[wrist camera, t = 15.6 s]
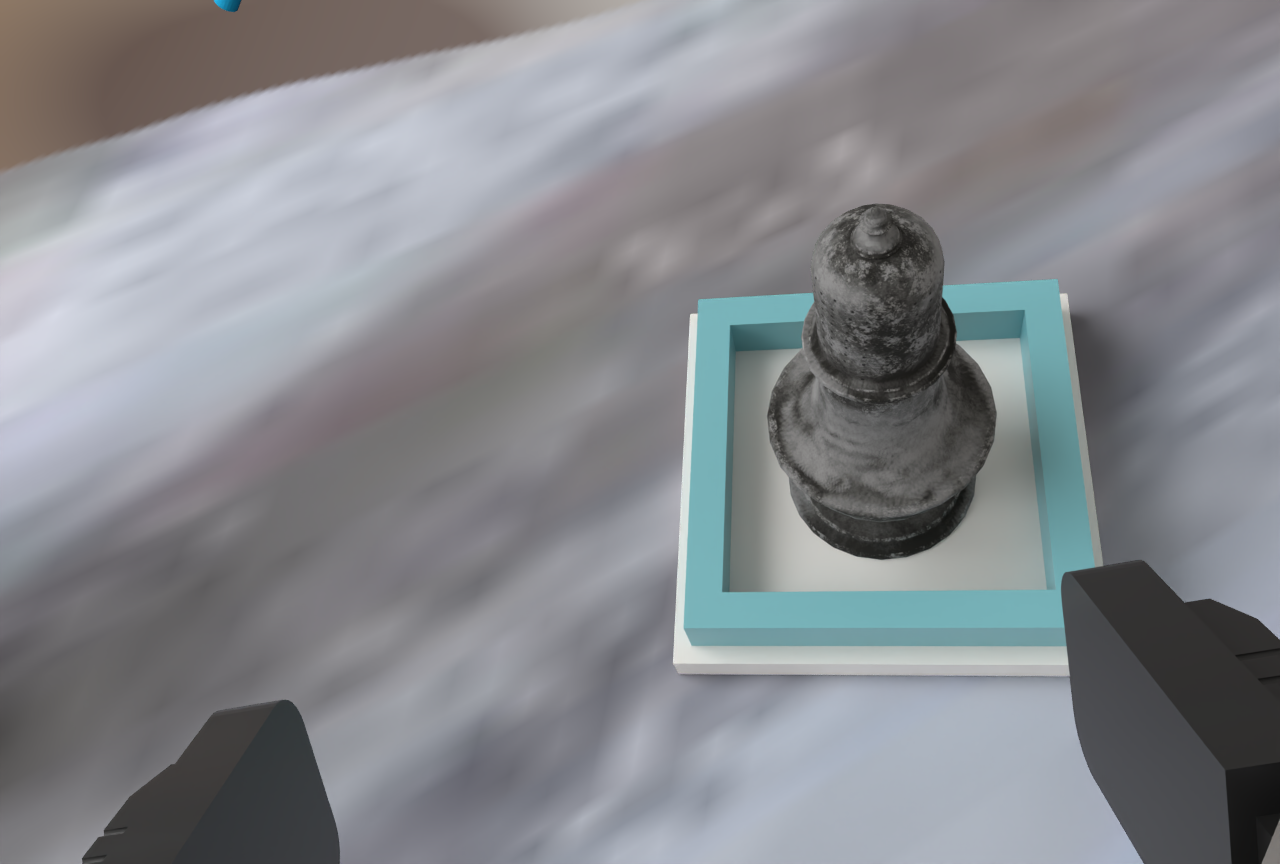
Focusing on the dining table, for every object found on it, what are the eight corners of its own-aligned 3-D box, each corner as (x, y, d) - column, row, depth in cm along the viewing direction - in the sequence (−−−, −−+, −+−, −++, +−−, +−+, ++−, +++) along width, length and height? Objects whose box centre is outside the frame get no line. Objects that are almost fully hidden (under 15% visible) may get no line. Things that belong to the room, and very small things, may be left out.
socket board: (678, 674, 33) (663, 646, 31) (694, 331, 38) (682, 286, 36) (1110, 676, 31) (1127, 647, 29) (1063, 311, 36) (1073, 264, 34)
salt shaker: (774, 568, 33) (720, 337, 22) (781, 387, 36) (735, 106, 25) (992, 571, 32) (1040, 329, 21) (982, 384, 34) (1021, 87, 24)
